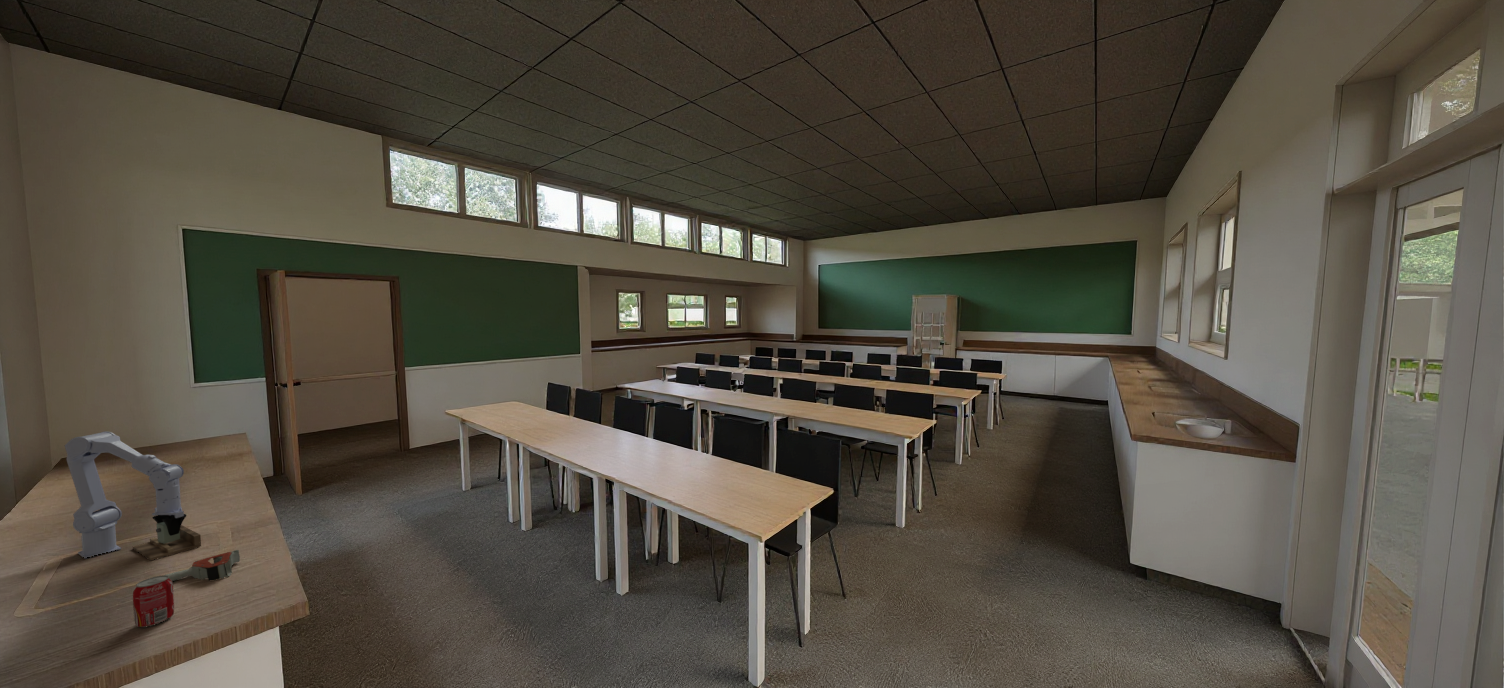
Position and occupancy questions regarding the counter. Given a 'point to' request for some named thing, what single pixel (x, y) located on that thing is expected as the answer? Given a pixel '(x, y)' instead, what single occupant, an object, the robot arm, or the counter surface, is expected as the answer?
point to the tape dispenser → (210, 567)
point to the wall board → (169, 545)
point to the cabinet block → (165, 534)
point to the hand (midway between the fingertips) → (170, 533)
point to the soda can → (153, 601)
